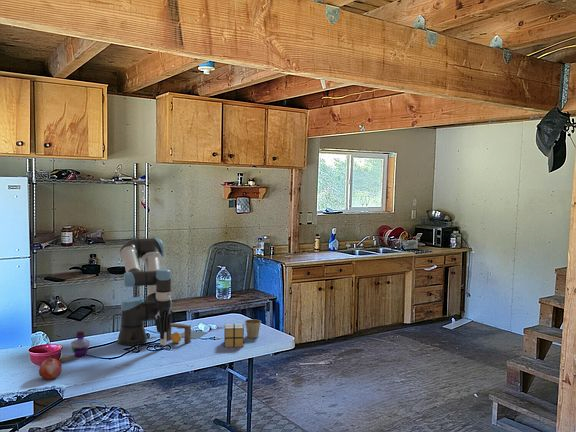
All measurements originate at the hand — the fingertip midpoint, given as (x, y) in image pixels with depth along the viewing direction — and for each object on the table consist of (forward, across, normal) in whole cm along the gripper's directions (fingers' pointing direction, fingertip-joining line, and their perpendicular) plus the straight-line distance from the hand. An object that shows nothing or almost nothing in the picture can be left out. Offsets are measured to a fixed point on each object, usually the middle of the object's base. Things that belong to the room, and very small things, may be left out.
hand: (163, 344), depth 262 cm
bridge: (+2, +13, 0) cm, 13 cm away
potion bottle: (+2, -26, +30) cm, 40 cm away
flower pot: (+2, +38, -33) cm, 50 cm away
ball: (-1, +11, -1) cm, 11 cm away
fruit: (+2, -54, +20) cm, 58 cm away
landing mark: (+2, +27, 0) cm, 27 cm away
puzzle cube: (+2, +21, -30) cm, 37 cm away
